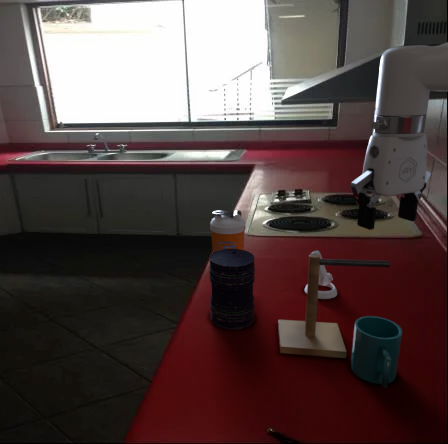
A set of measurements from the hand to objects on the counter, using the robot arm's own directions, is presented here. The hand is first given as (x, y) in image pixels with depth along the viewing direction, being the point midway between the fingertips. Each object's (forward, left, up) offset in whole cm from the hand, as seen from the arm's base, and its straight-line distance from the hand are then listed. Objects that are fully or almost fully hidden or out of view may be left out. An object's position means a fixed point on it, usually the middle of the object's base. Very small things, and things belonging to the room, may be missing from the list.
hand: (386, 223), depth 75 cm
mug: (+2, +10, -25) cm, 27 cm away
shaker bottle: (+30, -24, -26) cm, 46 cm away
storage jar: (+28, -7, -26) cm, 38 cm away
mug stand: (+8, 0, -25) cm, 27 cm away
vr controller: (+7, -22, -26) cm, 34 cm away
